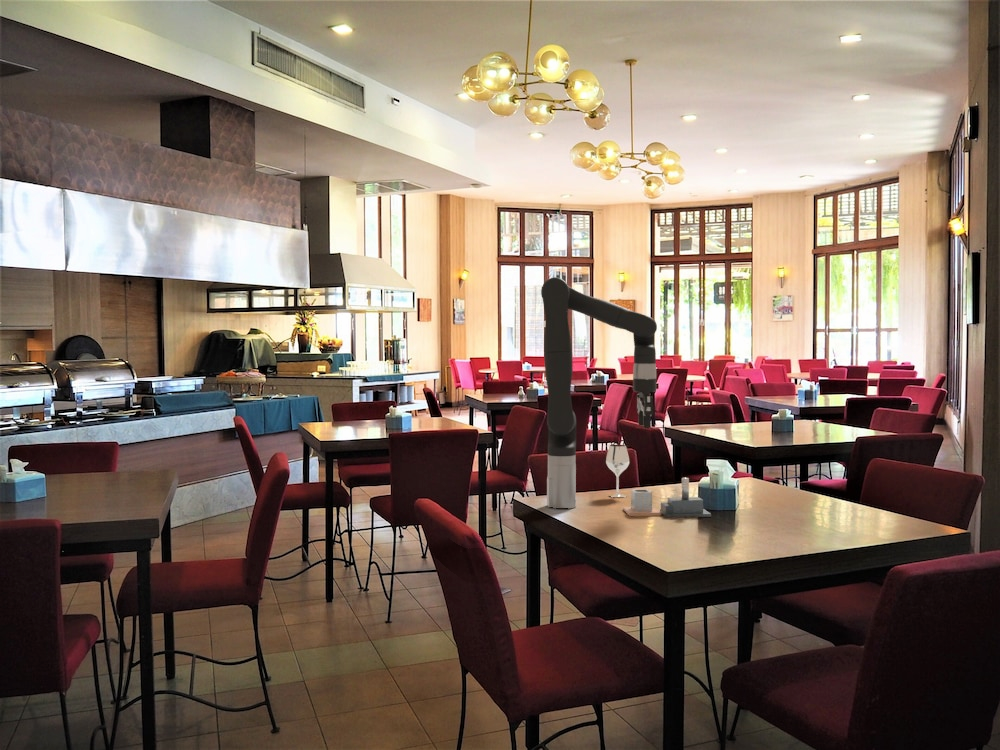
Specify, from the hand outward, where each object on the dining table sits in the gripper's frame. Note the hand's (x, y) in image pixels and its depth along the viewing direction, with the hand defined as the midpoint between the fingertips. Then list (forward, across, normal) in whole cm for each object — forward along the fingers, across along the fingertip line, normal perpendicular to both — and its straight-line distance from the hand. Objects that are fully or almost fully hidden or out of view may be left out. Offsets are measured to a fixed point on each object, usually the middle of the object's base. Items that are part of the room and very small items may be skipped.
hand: (644, 426), depth 279 cm
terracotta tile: (+26, +10, -3) cm, 28 cm away
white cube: (+26, +10, -3) cm, 27 cm away
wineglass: (+27, -20, -5) cm, 34 cm away
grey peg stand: (+26, +13, +10) cm, 31 cm away
